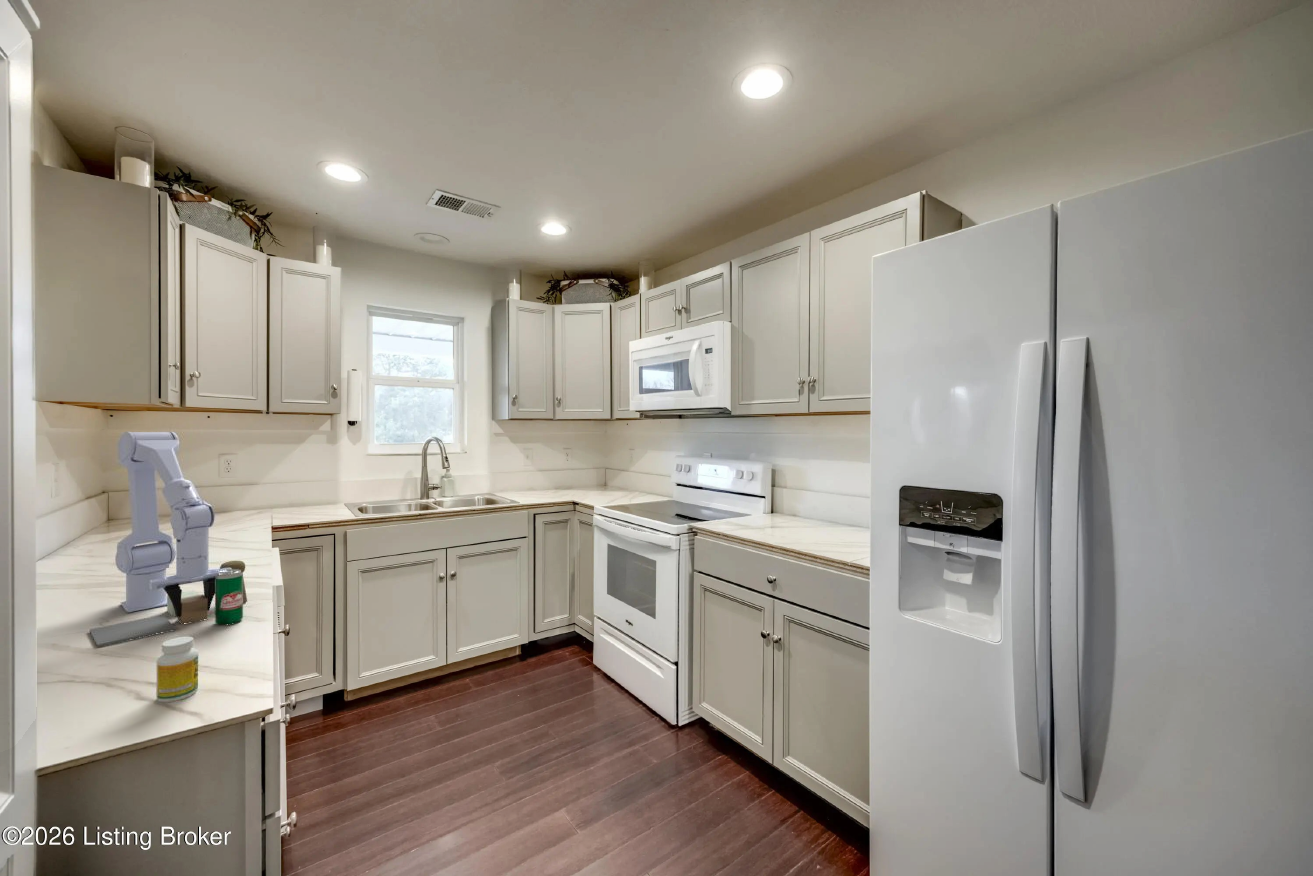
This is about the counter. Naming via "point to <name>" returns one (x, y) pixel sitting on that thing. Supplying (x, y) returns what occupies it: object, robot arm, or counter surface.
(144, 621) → the mat
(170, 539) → the robot arm
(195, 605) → the walnut block
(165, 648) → the supplement bottle
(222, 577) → the soda can
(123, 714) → the counter surface
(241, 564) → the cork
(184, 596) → the sage block
